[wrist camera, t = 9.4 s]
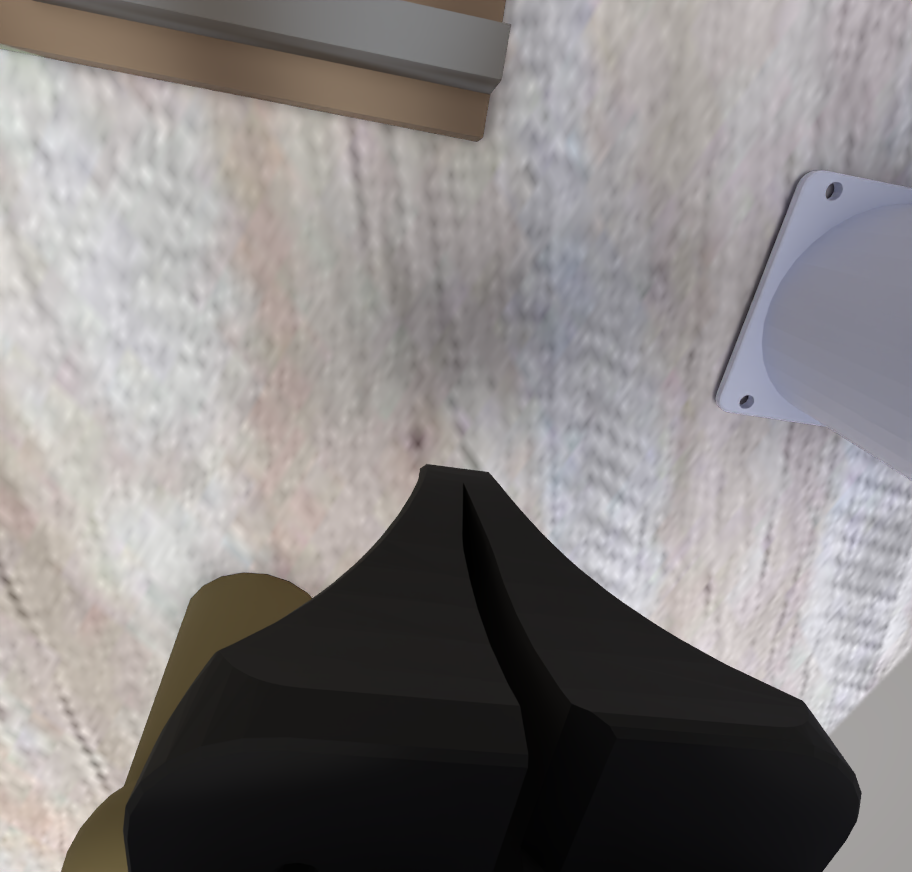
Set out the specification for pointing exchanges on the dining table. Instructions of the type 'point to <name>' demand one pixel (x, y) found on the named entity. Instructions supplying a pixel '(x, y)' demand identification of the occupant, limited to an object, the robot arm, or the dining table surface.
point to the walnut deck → (290, 51)
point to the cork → (183, 693)
